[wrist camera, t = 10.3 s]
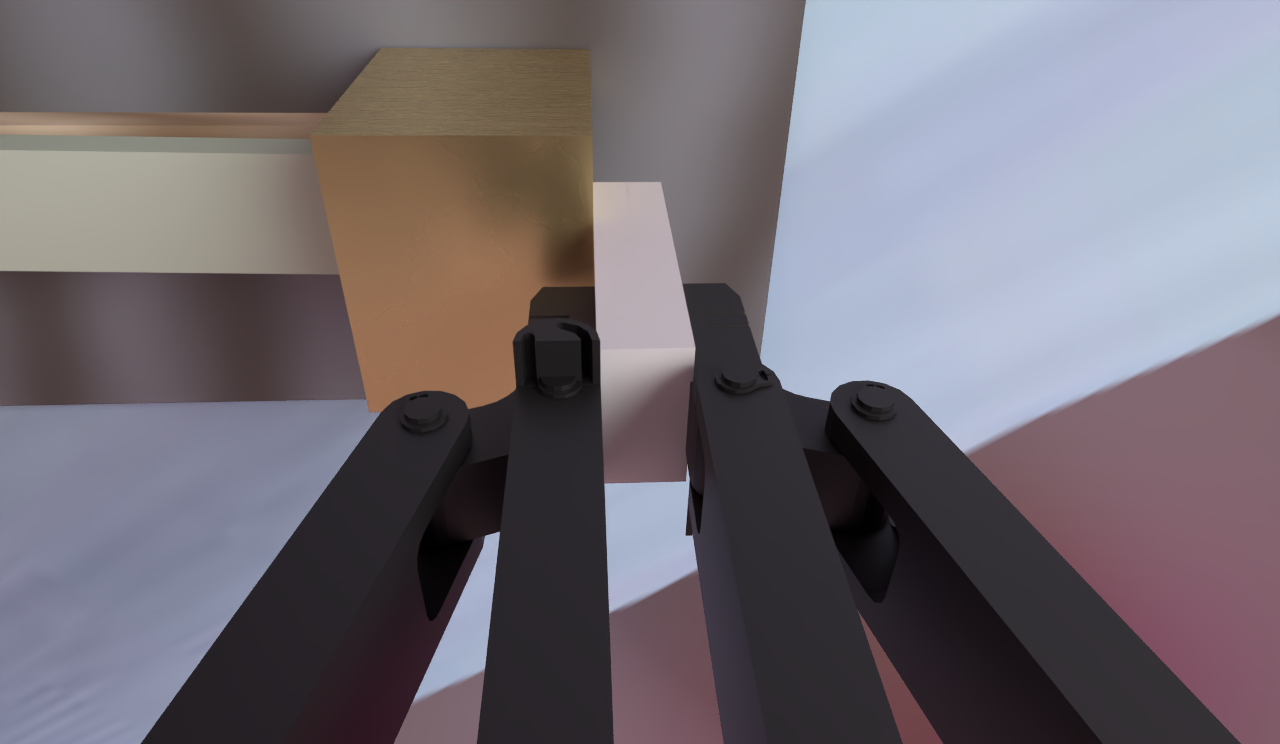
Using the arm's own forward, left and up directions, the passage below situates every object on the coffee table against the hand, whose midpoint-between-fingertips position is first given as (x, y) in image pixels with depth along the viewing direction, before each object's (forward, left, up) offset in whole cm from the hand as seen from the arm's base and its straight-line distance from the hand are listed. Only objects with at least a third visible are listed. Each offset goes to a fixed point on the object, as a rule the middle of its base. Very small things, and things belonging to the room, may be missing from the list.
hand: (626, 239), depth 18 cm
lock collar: (-3, 0, -5) cm, 6 cm away
